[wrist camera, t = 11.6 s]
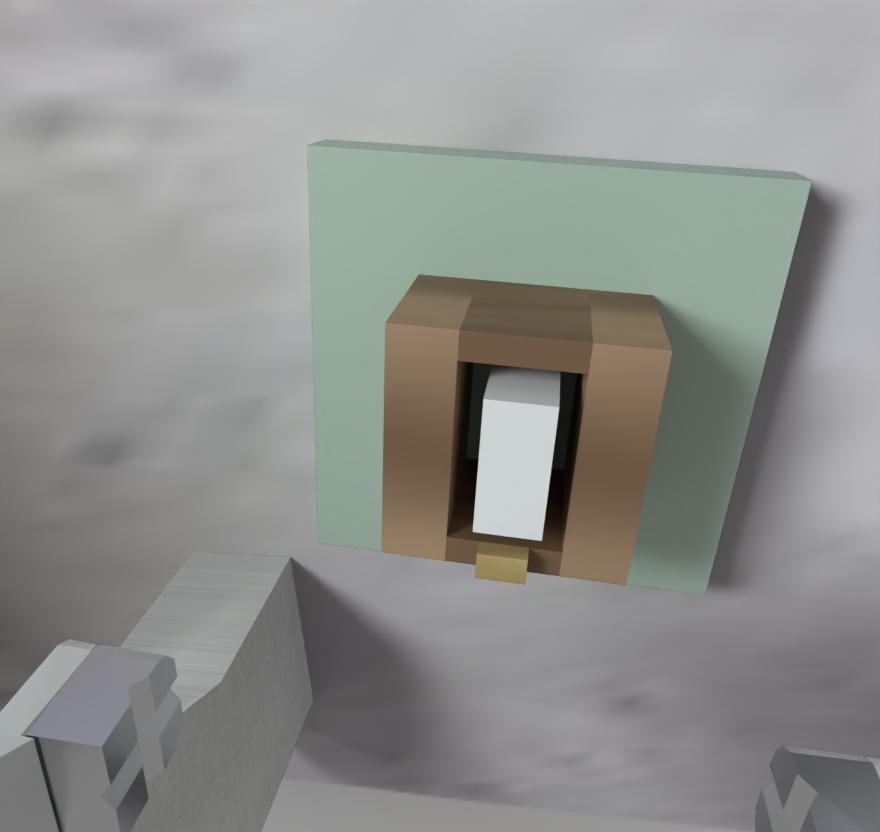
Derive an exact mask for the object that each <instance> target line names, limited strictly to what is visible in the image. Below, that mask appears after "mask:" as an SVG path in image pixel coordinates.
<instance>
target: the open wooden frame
mask: <svg viewBox="0 0 880 832" xmlns="http://www.w3.org/2000/svg"><path fill="white" fill-rule="evenodd" d="M671 356H672V348H671V345H670V342H669V339H668V336H667V334H666V331H665V328H664V325H663V322H662V319H661V316H660V314H659V311H658V308H657V305H656V302H655V299H654V296H653V295H645V294H634V293H623V292H612V291H601V290H589V289H578V288H567V287H556V286H545V285H533V284H522V283H511V282H500V281H489V280H478V279H466V278H455V277H444V276H433V275H422V274H419V275H418V276H417V278H416V279H415V281H414V282H413V283H412V285H411V286H410V288H409V289H408V291H407V292H406V293H405V295H404V296H403V298H402V299H401V301H400V302H399V304H398V305H397V306H396V308H395V309H394V311H393V312H392V314H391V315H390V316H389V318H388V319H387V321H386V322H385V364H384V426H383V489H382V551H381V552H385V553H392V554H400V555H407V556H415V557H422V558H429V559H437V560H444V561H452V562H459V563H466V564H474V565H476V570H475V578H481V579H489V580H496V581H503V582H511V583H518V584H525V580H526V572H533V573H540V574H548V575H555V576H563V577H570V578H577V579H585V580H592V581H600V582H607V583H614V584H622V585H626V584H627V579H628V574H629V569H630V564H631V559H632V554H633V549H634V544H635V539H636V533H637V528H638V523H639V518H640V513H641V508H642V503H643V498H644V493H645V488H646V483H647V478H648V473H649V467H650V462H651V457H652V452H653V447H654V442H655V437H656V432H657V427H658V422H659V417H660V412H661V407H662V402H663V396H664V391H665V386H666V381H667V376H668V371H669V366H670V361H671ZM474 363H484V364H494V365H504V366H513V367H523V368H533V369H542V370H552V371H562V372H572V373H577V379H576V386H575V393H574V400H573V408H572V415H571V422H570V429H569V436H568V443H567V451H566V458H565V465H564V470H562V469H554V468H551V475H550V483H549V490H548V498H547V505H546V513H545V521H544V528H543V536H542V541H538V540H530V539H523V538H515V537H507V536H500V535H492V534H484V533H477V532H473V521H474V509H475V497H476V484H477V472H478V459H469V458H467V447H468V433H469V420H470V406H471V392H472V378H473V365H474Z"/></svg>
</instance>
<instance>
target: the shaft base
mask: <svg viewBox="0 0 880 832" xmlns="http://www.w3.org/2000/svg"><path fill="white" fill-rule="evenodd" d="M307 163H308V198H309V234H310V269H311V304H312V339H313V375H314V410H315V445H316V480H317V515H318V543H324V544H332V545H339V546H346V547H354V548H361V549H368V550H376V551H382V489H383V426H384V364H385V322H386V321H387V319H388V318H389V316H390V315H391V314H392V312H393V311H394V309H395V308H396V306H397V305H398V304H399V302H400V301H401V299H402V298H403V296H404V295H405V293H406V292H407V291H408V289H409V288H410V286H411V285H412V283H413V282H414V281H415V279H416V278H417V276H418V275H419V274H422V275H433V276H444V277H455V278H466V279H478V280H489V281H500V282H511V283H522V284H533V285H545V286H556V287H567V288H578V289H589V290H601V291H612V292H623V293H634V294H645V295H653V296H654V299H655V302H656V305H657V308H658V311H659V314H660V316H661V319H662V322H663V325H664V328H665V331H666V334H667V336H668V339H669V342H670V345H671V348H672V356H671V361H670V366H669V371H668V376H667V381H666V386H665V391H664V396H663V402H662V407H661V412H660V417H659V422H658V427H657V432H656V437H655V442H654V447H653V452H652V457H651V462H650V467H649V473H648V478H647V483H646V488H645V493H644V498H643V503H642V508H641V513H640V518H639V523H638V528H637V533H636V539H635V544H634V549H633V554H632V559H631V564H630V569H629V574H628V579H627V585H634V586H641V587H649V588H656V589H663V590H671V591H678V592H685V593H693V594H700V595H705V594H706V590H707V586H708V582H709V578H710V574H711V571H712V567H713V563H714V559H715V555H716V551H717V547H718V543H719V540H720V536H721V532H722V528H723V524H724V520H725V516H726V512H727V509H728V505H729V501H730V497H731V493H732V489H733V485H734V481H735V478H736V474H737V470H738V466H739V462H740V458H741V454H742V450H743V447H744V443H745V439H746V435H747V431H748V427H749V423H750V420H751V416H752V412H753V408H754V404H755V400H756V396H757V392H758V389H759V385H760V381H761V377H762V373H763V369H764V365H765V361H766V358H767V354H768V350H769V346H770V342H771V338H772V334H773V330H774V327H775V323H776V319H777V315H778V311H779V307H780V303H781V299H782V296H783V292H784V288H785V284H786V280H787V276H788V272H789V268H790V265H791V261H792V257H793V253H794V249H795V245H796V241H797V237H798V234H799V230H800V226H801V222H802V218H803V214H804V210H805V206H806V203H807V199H808V195H809V191H810V187H811V183H812V181H811V180H809V179H807V178H805V177H803V176H801V175H799V174H797V173H795V172H784V171H769V170H755V169H741V168H726V167H712V166H697V165H683V164H669V163H654V162H640V161H626V160H611V159H597V158H582V157H568V156H554V155H539V154H525V153H510V152H496V151H482V150H467V149H453V148H439V147H424V146H410V145H395V144H381V143H367V142H352V141H338V140H322V141H319V142H316V143H313V144H310V145H307ZM576 379H577V373H572V372H562V371H552V370H542V369H533V368H523V367H513V366H504V365H494V364H484V363H474V365H473V378H472V392H471V406H470V420H469V433H468V447H467V458H469V459H478V472H477V484H476V497H475V509H474V521H473V532H477V533H484V534H492V535H500V536H507V537H515V538H523V539H530V540H538V541H542V536H543V528H544V521H545V513H546V505H547V498H548V490H549V483H550V475H551V468H554V469H562V470H564V465H565V458H566V451H567V443H568V436H569V429H570V422H571V415H572V408H573V400H574V393H575V386H576Z"/></svg>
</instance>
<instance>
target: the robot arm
mask: <svg viewBox="0 0 880 832" xmlns="http://www.w3.org/2000/svg"><path fill="white" fill-rule="evenodd" d="M176 678H177V671H176V666H175V661H174V658H172V657H169V656H166V655H161V654H155V653H149V652H143V651H138V650H132V649H126V648H121V647H115V646H109V645H103V644H102V645H100V644H95V643H89V642H83V641H77V640H71V639H68V640H67V641H65V642H63V643H61V644H59V645H58V646H56V647H55V649H54V650H53V651H52V652H51V653H50V654H49V656H48V657H47V658H46V659H45V660H44V661H43V663H42V664H41V665H40V666H39V667H38V668H37V670H36V671H35V672H34V673H33V674H32V675H31V677H30V678H29V679H28V680H27V681H26V682H25V684H24V685H23V686H22V687H21V688H20V689H19V691H18V692H17V693H16V694H15V695H14V696H13V698H12V699H11V700H10V701H9V702H8V703H7V705H6V706H5V707H4V708H3V709H2V710H1V711H0V832H130V831H131V830H132V828H133V826H134V824H135V822H136V821H137V819H138V817H139V815H140V814H141V812H142V810H143V808H144V806H145V805H146V803H147V801H148V793H147V787H146V782H147V781H149V780H150V779H152V778H153V777H155V776H156V775H158V774H159V773H161V772H162V771H164V770H165V768H166V766H167V765H168V763H169V761H170V759H171V757H172V755H173V753H174V751H175V748H176V745H177V742H178V738H179V735H180V732H181V726H182V705H181V699H180V698H179V697H178V696H177V695H176V694H175V693H174V692H173V691H172V689H171V686H172V684H173V683H174V681H175V679H176ZM770 767H771V770H772V774H773V777H774V782H772V783H771V784H769V785H767V786H766V787H764V788H762V789H761V793H760V796H759V799H758V803H757V806H756V819H755V832H880V759H878V758H871V757H861V756H859V755H851V754H844V753H836V752H829V751H822V750H814V749H807V748H800V747H792V746H785V745H781V746H780V747H779V748H778V749H777V750H776V751H775V753H774V756H773V758H772V761H771V764H770Z"/></svg>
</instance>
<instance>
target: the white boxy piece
mask: <svg viewBox="0 0 880 832" xmlns="http://www.w3.org/2000/svg"><path fill="white" fill-rule="evenodd" d="M120 647H121V648H126V649H132V650H138V651H143V652H149V653H155V654H161V655H166V656H169V657H172V658H174V661H175V666H176V671H177V678H176V679H175V681H174V683H173V684H172V686H171V689H172V691H173V692H174V693H175V694H176V695H177V696H178V697H179V698H180V699H181V705H182V726H181V732H180V735H179V738H178V742H177V745H176V748H175V751H174V753H173V755H172V757H171V759H170V761H169V763H168V765H167V766H166V768H165V770H164V771H162V772H161V773H159V774H158V775H156V776H155V777H153V778H152V779H150V780H149V781H147V782H146V787H147V793H148V801H147V803H146V805H145V806H144V808H143V810H142V812H141V814H140V815H139V817H138V819H137V821H136V822H135V824H134V826H133V828H132V830H131V831H130V832H261V830H262V828H263V825H264V823H265V820H266V818H267V815H268V813H269V810H270V808H271V805H272V803H273V800H274V798H275V795H276V793H277V790H278V788H279V785H280V783H281V780H282V778H283V775H284V773H285V770H286V768H287V765H288V762H289V760H290V757H291V755H292V752H293V750H294V747H295V745H296V742H297V740H298V737H299V735H300V732H301V730H302V727H303V725H304V722H305V720H306V717H307V715H308V712H309V710H310V707H311V705H312V702H313V700H314V699H313V693H312V687H311V681H310V674H309V668H308V662H307V656H306V650H305V644H304V637H303V631H302V625H301V619H300V613H299V606H298V600H297V594H296V588H295V582H294V576H293V569H292V563H291V557H284V556H266V555H249V554H231V553H213V552H195V551H192V553H191V554H190V555H189V557H188V558H187V559H186V561H185V562H184V563H183V565H182V566H181V567H180V568H179V570H178V571H177V572H176V574H175V575H174V576H173V578H172V579H171V580H170V582H169V583H168V584H167V586H166V587H165V588H164V589H163V591H162V592H161V593H160V595H159V596H158V597H157V599H156V600H155V601H154V603H153V604H152V605H151V607H150V608H149V609H148V610H147V612H146V613H145V614H144V616H143V617H142V618H141V620H140V621H139V622H138V624H137V625H136V626H135V628H134V629H133V630H132V631H131V633H130V634H129V635H128V637H127V638H126V639H125V641H124V642H123V643H122V645H121V646H120Z"/></svg>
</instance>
